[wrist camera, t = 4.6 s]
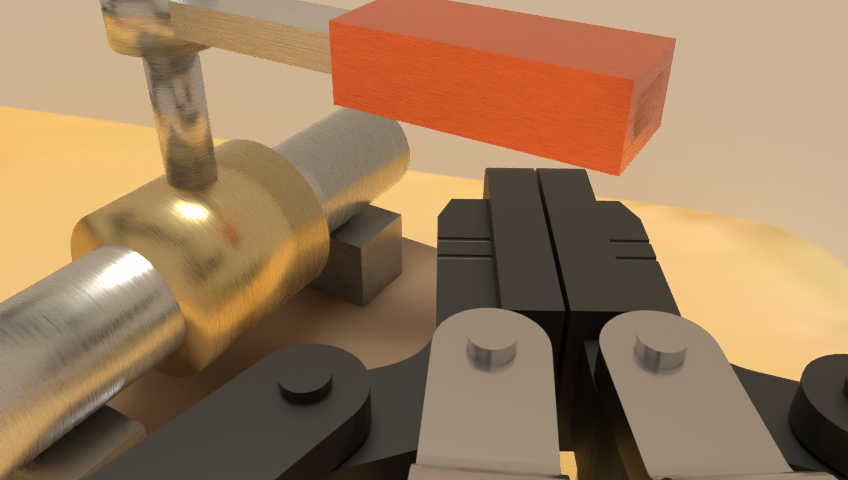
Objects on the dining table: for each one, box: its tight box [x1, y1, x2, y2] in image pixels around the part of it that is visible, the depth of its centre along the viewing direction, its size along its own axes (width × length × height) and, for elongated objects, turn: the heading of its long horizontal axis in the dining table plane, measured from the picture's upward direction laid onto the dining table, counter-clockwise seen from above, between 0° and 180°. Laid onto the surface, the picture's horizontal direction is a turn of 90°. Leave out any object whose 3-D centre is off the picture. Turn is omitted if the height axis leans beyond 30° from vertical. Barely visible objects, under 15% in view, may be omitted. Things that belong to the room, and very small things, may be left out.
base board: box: [106, 237, 437, 437], centre depth 30 cm, size 22×12×2 cm, turn 149°
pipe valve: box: [0, 52, 410, 480], centre depth 26 cm, size 20×6×12 cm, turn 149°
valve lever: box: [100, 0, 676, 176], centre depth 19 cm, size 3×16×2 cm, turn 59°
